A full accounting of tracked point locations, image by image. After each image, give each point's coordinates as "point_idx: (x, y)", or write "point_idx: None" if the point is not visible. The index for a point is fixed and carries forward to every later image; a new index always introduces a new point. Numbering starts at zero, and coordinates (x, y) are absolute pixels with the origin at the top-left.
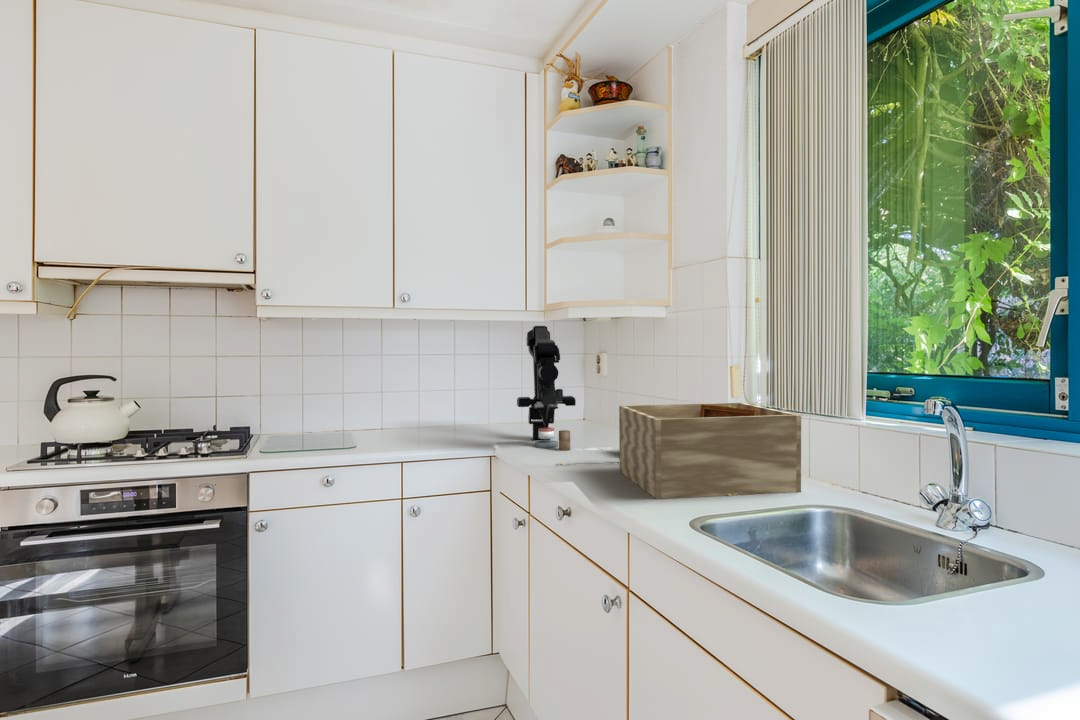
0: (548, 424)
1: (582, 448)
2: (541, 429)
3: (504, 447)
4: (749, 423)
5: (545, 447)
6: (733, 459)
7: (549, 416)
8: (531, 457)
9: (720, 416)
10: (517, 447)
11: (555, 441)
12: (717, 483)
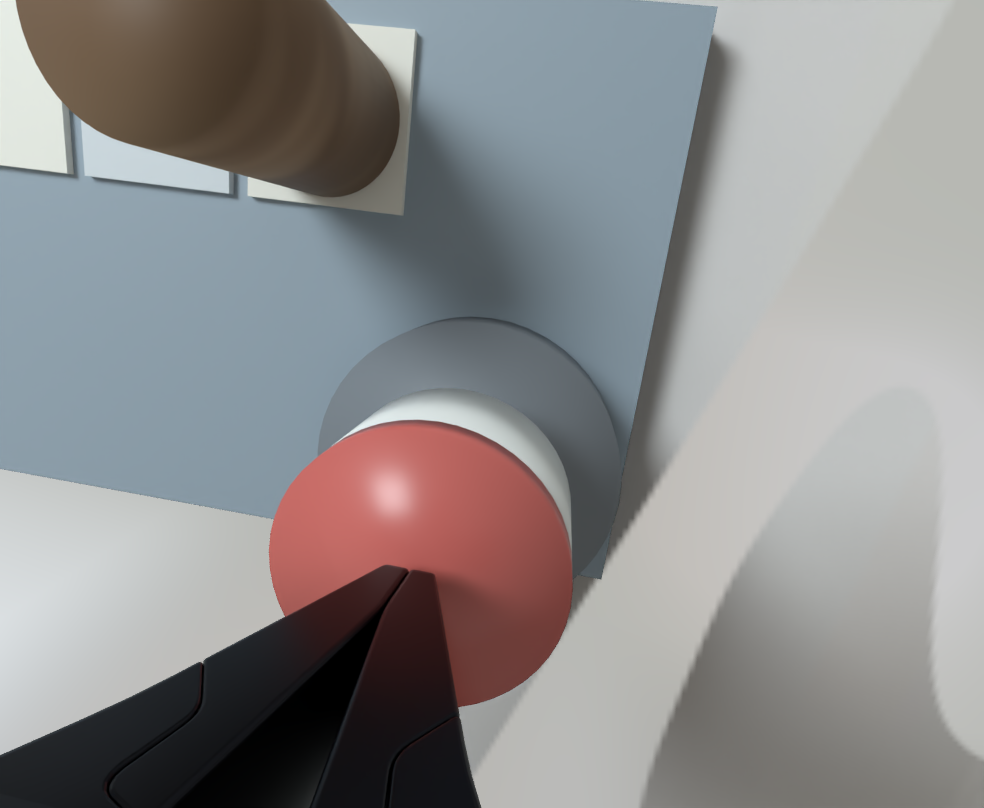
0: (350, 583)
1: (96, 153)
2: (538, 516)
3: (873, 744)
4: None
5: (525, 330)
6: None
7: (209, 700)
8: (831, 5)
9: None
10: (736, 691)
11: None
12: None
